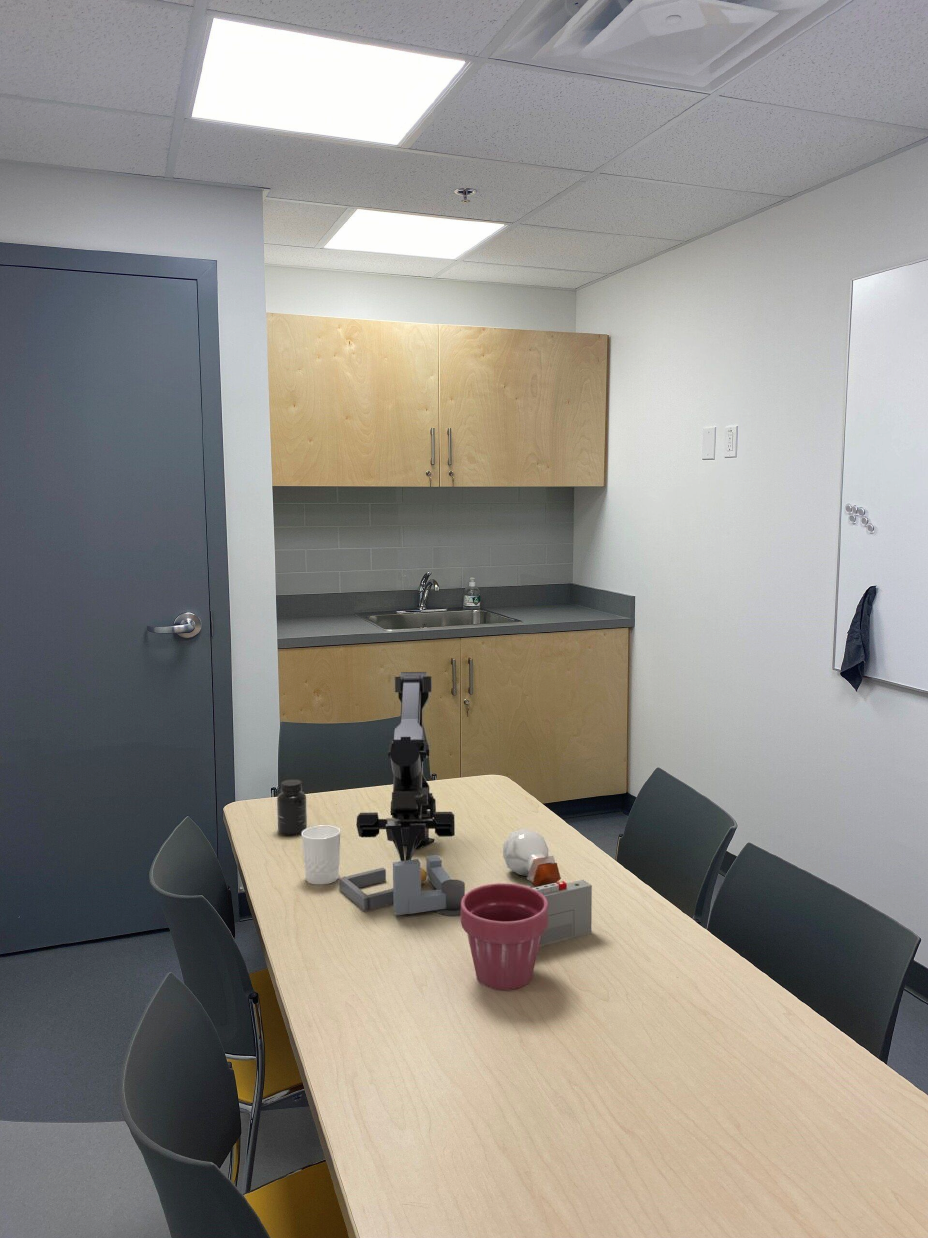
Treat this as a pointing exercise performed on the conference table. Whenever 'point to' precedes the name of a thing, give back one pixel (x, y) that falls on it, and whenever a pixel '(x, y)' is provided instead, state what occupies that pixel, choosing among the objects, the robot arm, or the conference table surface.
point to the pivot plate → (449, 912)
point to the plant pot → (504, 932)
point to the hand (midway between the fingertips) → (404, 866)
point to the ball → (423, 875)
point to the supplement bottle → (291, 808)
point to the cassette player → (567, 910)
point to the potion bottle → (530, 857)
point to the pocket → (356, 881)
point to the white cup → (321, 854)
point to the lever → (416, 901)
